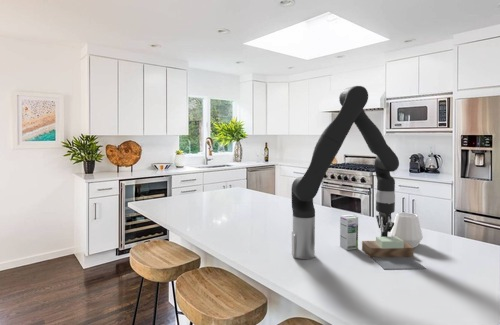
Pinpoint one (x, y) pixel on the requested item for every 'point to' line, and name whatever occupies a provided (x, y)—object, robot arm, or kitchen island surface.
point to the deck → (386, 250)
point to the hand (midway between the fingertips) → (384, 239)
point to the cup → (407, 228)
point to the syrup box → (349, 232)
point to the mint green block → (389, 242)
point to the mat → (398, 263)
